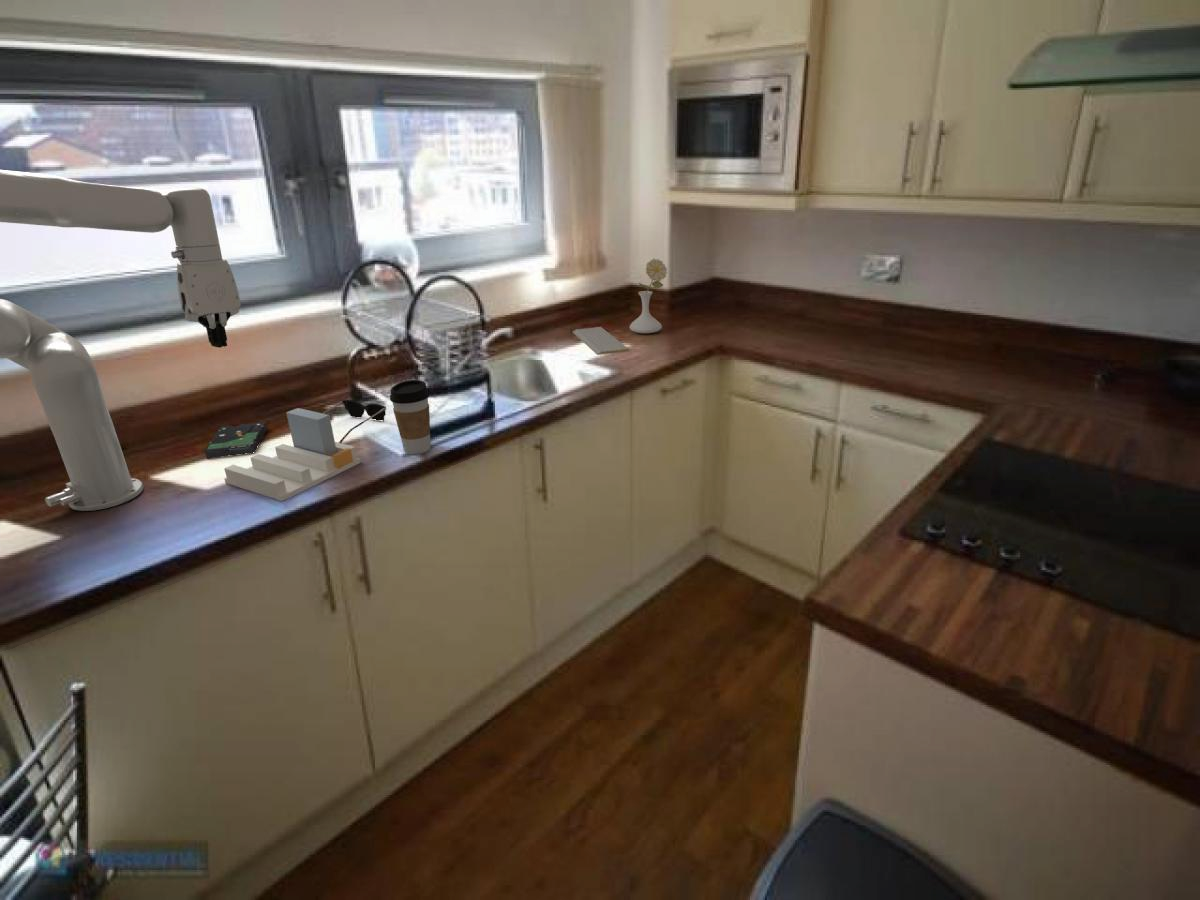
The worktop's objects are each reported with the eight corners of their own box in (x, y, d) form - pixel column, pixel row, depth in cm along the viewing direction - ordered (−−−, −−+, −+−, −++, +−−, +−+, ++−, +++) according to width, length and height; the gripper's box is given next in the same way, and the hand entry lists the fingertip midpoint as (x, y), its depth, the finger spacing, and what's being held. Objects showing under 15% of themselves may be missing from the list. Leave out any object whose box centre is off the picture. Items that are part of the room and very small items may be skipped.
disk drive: (222, 436, 171) (206, 460, 158) (220, 426, 170) (203, 449, 157) (268, 431, 173) (256, 454, 160) (265, 421, 172) (253, 443, 159)
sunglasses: (389, 423, 175) (385, 405, 173) (343, 452, 162) (339, 432, 160) (347, 416, 181) (343, 398, 178) (299, 443, 168) (294, 424, 166)
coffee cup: (443, 443, 161) (435, 380, 155) (424, 458, 154) (414, 393, 148) (411, 440, 164) (401, 378, 158) (390, 454, 157) (380, 390, 150)
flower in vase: (631, 336, 242) (630, 262, 232) (627, 328, 253) (626, 257, 243) (669, 334, 243) (669, 260, 233) (663, 326, 254) (664, 255, 244)
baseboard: (592, 357, 224) (628, 353, 227) (592, 348, 222) (628, 344, 225) (568, 334, 251) (600, 330, 254) (568, 326, 250) (600, 322, 253)
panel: (326, 463, 150) (317, 419, 146) (295, 455, 155) (286, 412, 151) (338, 458, 152) (329, 415, 148) (307, 450, 157) (298, 408, 153)
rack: (282, 501, 137) (277, 482, 136) (225, 482, 146) (220, 465, 144) (361, 462, 153) (358, 445, 152) (305, 447, 162) (302, 431, 160)
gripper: (172, 260, 131) (193, 356, 138) (246, 252, 143) (263, 341, 150) (150, 257, 135) (173, 351, 142) (225, 249, 147) (242, 336, 154)
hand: (219, 345), depth 146 cm, fingers closed
